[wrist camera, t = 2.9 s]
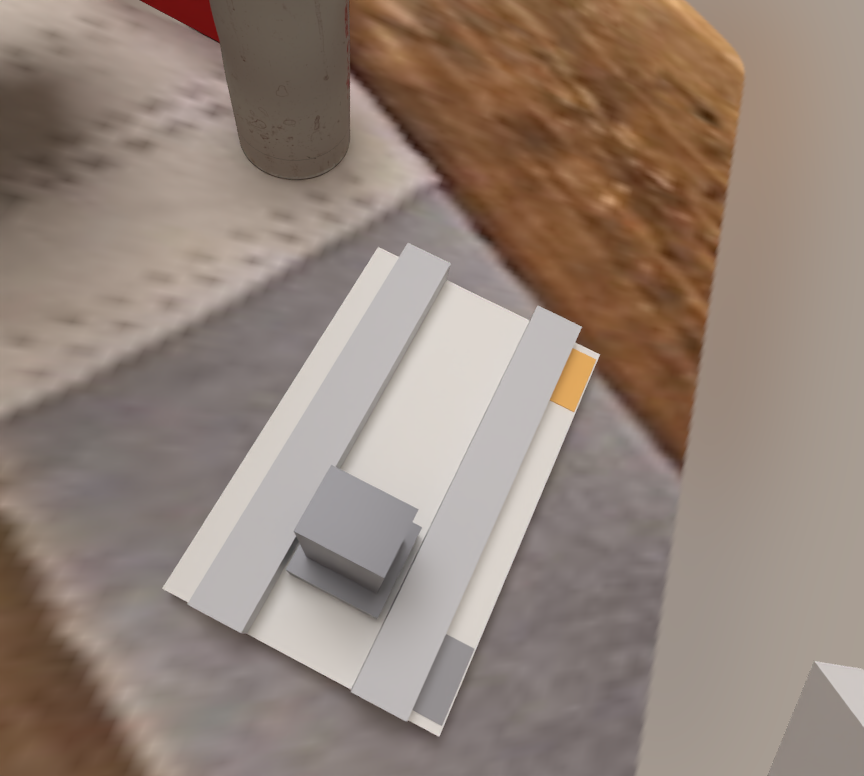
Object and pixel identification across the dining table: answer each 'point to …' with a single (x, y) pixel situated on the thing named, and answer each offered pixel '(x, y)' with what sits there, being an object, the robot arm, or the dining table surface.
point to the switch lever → (353, 541)
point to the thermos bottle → (288, 81)
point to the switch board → (397, 480)
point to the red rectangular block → (189, 14)
